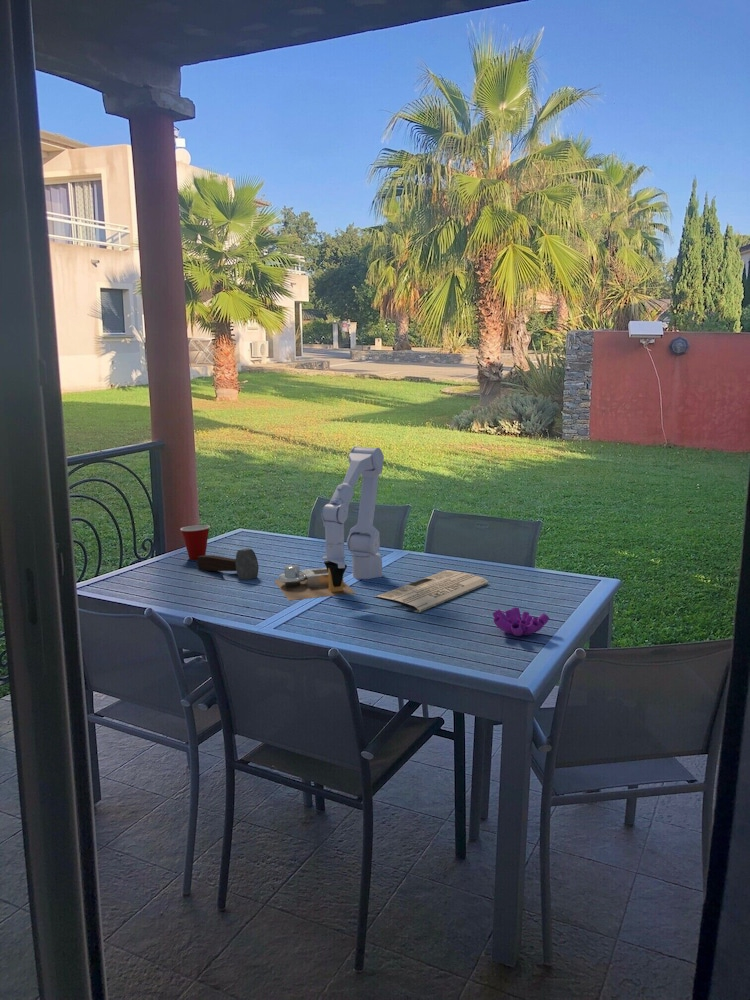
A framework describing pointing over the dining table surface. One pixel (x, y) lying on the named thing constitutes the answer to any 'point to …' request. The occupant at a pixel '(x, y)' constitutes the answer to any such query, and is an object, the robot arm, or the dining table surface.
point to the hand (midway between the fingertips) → (335, 584)
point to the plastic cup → (195, 540)
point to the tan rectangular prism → (330, 582)
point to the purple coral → (519, 622)
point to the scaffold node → (304, 576)
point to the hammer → (232, 564)
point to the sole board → (310, 591)
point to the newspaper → (435, 589)
